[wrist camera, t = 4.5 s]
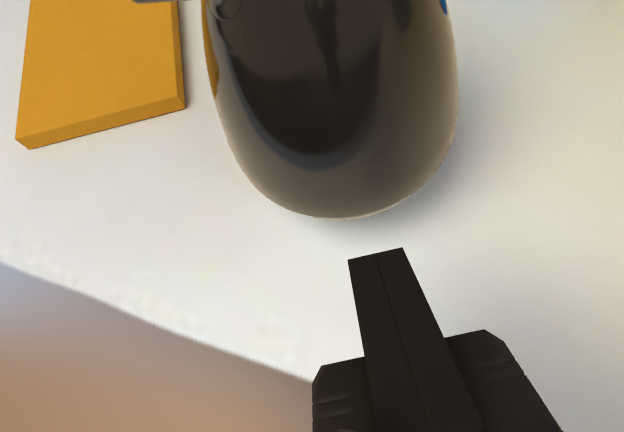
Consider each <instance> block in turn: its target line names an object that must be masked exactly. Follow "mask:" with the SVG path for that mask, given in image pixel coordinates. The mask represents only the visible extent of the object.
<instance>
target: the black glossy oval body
mask: <svg viewBox="0 0 624 432" xmlns="http://www.w3.org/2000/svg"><path fill="white" fill-rule="evenodd" d="M132 1H133V2H135V3H137V4H147V3H161V2H174V1H188V0H132ZM201 11H202V29H203V40H204V49H205V57H206V64H207V70H208V75H209V81H210V85H211V90H212V94H213V98H214V101H215V105H216V108H217V112H218V115H219V118H220V121H221V124H222V127H223V130H224V133H225V135H226V138H227V141H228V143H229V146H230V148H231V150H232V153H233V155H234V157H235V159H236V161H237V162H238V164H239V166H240V168H241V169H242V171H243V172H244V174H245V175H246V177H247V178H248V179H249V181H250V182H251V183H252V184H253V185H254V187H255V188H256V189H257V190H258V191H260V192H261V193H262V194H263V195H264V196H266V197H267V198H268V199H270V200H271V201H273V202H274V203H276V204H278V205H280V206H282V207H284V208H286V209H288V210H291V211H293V212H296V213H300V214H303V215H308V216H312V217H316V218H321V219H327V220H355V219H361V218H366V217H369V216H373V215H376V214H378V213H381V212H383V211H386V210H388V209H390V208H392V207H393V206H395V205H397V204H399V203H400V202H401V201H403V200H404V199H406V198H407V197H408V196H410V195H411V194H412V193H414V192H415V191H417V190H418V189H419V188H420V187H421V186H422V185H424V184H425V183H426V182H427V181H428V180H429V179H430V178H431V176H432V175H433V174H434V173H435V172H436V171H437V169H438V168H439V166H440V165H441V163H442V162H443V160H444V159H445V157H446V155H447V153H448V151H449V149H450V146H451V143H452V141H453V137H454V133H455V129H456V123H457V116H458V104H459V88H458V72H457V60H456V51H455V43H454V36H453V30H452V25H451V20H450V15H449V11H448V7H447V3H446V0H201Z"/></svg>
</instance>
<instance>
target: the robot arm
mask: <svg viewBox="0 0 624 432" xmlns="http://www.w3.org/2000/svg"><path fill="white" fill-rule="evenodd" d="M348 265H349V271H350V277H351V282H352V288H353V293H354V299H355V305H356V310H357V316H358V321H359V327H360V333H361V338H362V344H363V349H364V355H365V357H360V358H356V359H351V360H346V361H341V362H337V363H332V364H327V365H323V366H321V368H320V369H319V371H318V373H317V375H316V377H315V379H314V381H313V383H312V402H313V406H312V410H313V432H563V431H562V430H561V428H560V427H559V425H558V424H557V422H556V421H555V419H554V418H553V416H552V415H551V413H550V411H549V410H548V408H547V407H546V405H545V404H544V402H543V401H542V399H541V398H540V396H539V395H538V393H537V392H536V390H535V389H534V387H533V386H532V384H531V382H530V381H529V379H528V378H527V376H526V375H524V372H523V370H522V369H521V367H520V366H519V364H518V363H517V361H515V359H514V357H513V355H512V353H511V352H510V350H509V349H508V347H507V346H506V344H505V343H504V341H502V340H501V339H499V338H498V337H496V336H494V335H493V334H491V333H490V332H488V331H486V330H485V329H484V330H479V331H474V332H469V333H465V334H460V335H455V336H451V337H446V338H444V337H443V335H442V332H441V330H440V328H439V326H438V324H437V322H436V319H435V317H434V315H433V313H432V311H431V309H430V306H429V304H428V302H427V300H426V298H425V295H424V293H423V291H422V289H421V287H420V285H419V282H418V280H417V278H416V276H415V274H414V272H413V269H412V267H411V265H410V263H409V261H408V258H407V256H406V254H405V252H404V250H403V248H402V247H401V248H397V249H393V250H388V251H384V252H380V253H375V254H371V255H366V256H362V257H358V258H353V259H349V260H348Z"/></svg>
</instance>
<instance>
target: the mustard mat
mask: <svg viewBox="0 0 624 432" xmlns="http://www.w3.org/2000/svg"><path fill="white" fill-rule="evenodd" d="M182 109H185V96H184V83H183V70H182V57H181V44H180V32H179V19H178V6H177V1H174V2H161V3H147V4H137V3H135V2H133V1H132V0H31V1H30V10H29V19H28V28H27V37H26V46H25V55H24V64H23V73H22V82H21V91H20V100H19V109H18V118H17V127H16V135H15V139H16V140H17V141H19V142H20V143H21V144H22V145H24V146H25V147H26V148H27V149H33V148H37V147H40V146H44V145H48V144H52V143H56V142H60V141H63V140H67V139H71V138H75V137H79V136H82V135H86V134H90V133H94V132H98V131H102V130H105V129H109V128H113V127H117V126H121V125H124V124H128V123H132V122H136V121H140V120H144V119H147V118H151V117H155V116H159V115H163V114H166V113H170V112H174V111H178V110H182Z"/></svg>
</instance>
